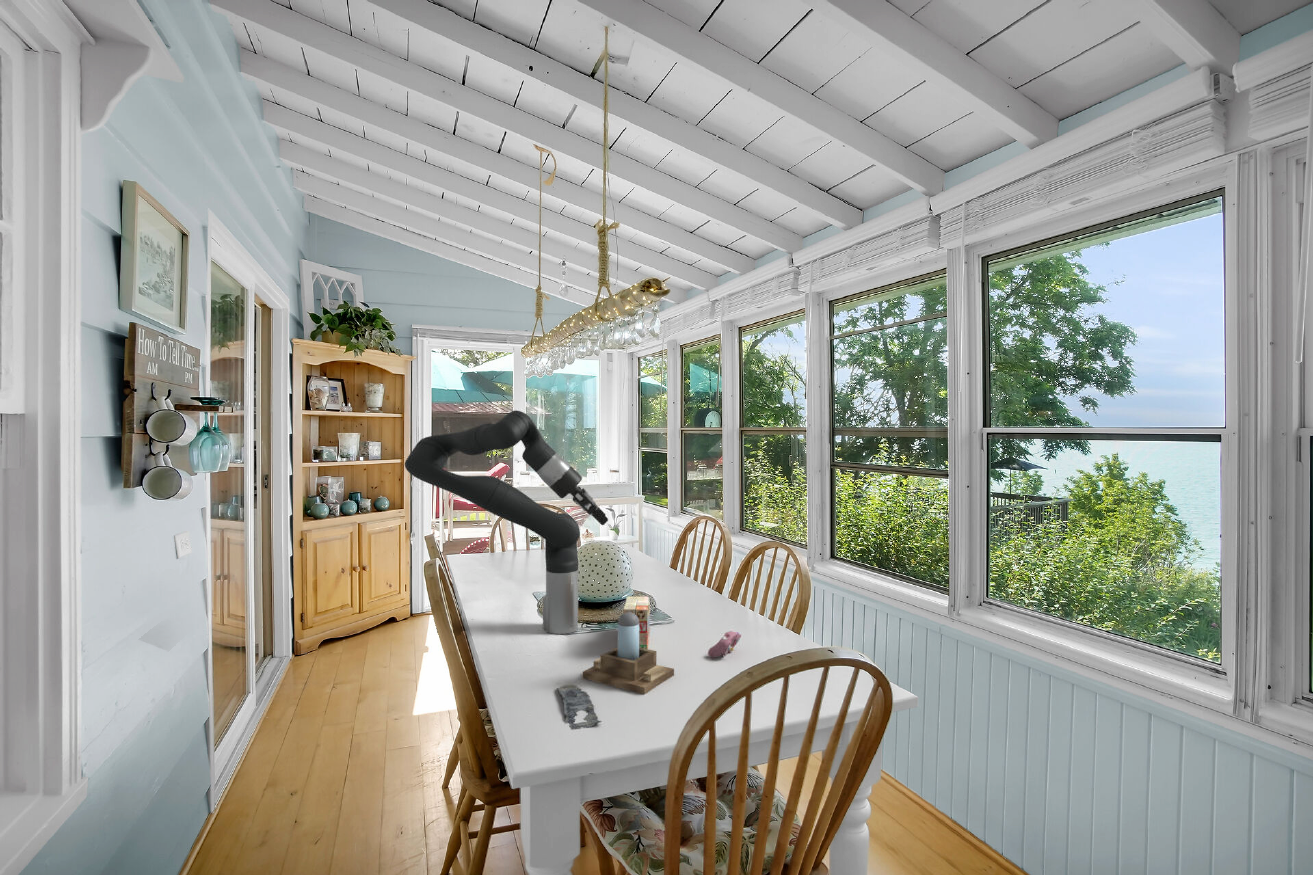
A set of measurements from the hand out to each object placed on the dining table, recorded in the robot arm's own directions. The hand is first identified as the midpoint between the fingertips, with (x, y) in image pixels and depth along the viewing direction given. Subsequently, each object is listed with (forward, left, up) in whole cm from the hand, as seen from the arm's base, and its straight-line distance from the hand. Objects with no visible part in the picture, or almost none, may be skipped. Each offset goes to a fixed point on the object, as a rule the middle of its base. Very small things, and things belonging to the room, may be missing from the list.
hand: (604, 520), depth 162 cm
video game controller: (+25, +19, -35) cm, 47 cm away
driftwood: (+13, -27, -35) cm, 46 cm away
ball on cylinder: (+13, -8, -33) cm, 36 cm away
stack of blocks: (+1, +14, -35) cm, 38 cm away
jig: (+13, -8, -35) cm, 38 cm away
